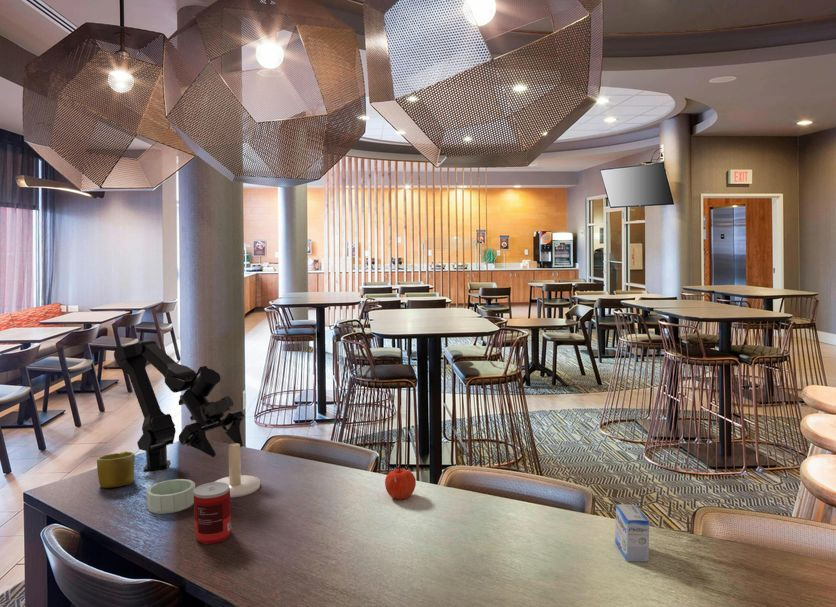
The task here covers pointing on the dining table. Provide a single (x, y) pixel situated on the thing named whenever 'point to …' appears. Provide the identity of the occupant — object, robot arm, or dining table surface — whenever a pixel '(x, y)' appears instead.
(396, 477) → the apple
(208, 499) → the canned food
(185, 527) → the dining table surface
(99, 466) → the mug
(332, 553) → the dining table surface
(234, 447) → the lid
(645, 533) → the medicine box
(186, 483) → the bowl
